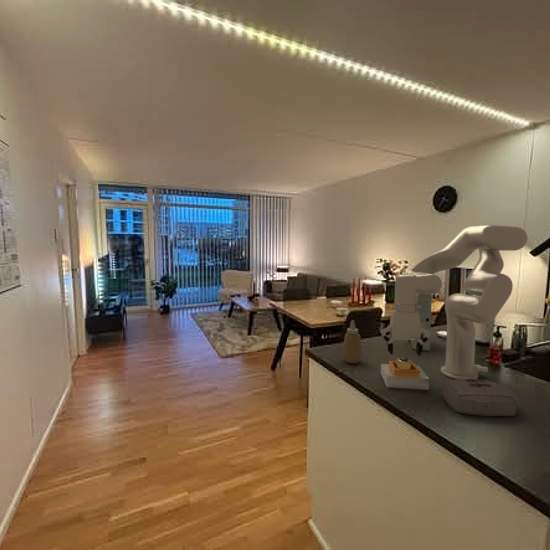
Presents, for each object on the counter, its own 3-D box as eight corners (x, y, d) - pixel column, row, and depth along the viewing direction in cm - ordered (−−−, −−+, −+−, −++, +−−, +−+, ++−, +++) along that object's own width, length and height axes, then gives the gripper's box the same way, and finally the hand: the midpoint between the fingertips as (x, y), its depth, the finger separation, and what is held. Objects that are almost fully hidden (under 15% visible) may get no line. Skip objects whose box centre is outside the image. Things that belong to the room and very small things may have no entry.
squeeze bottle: (362, 365, 130) (363, 323, 128) (342, 364, 132) (343, 322, 130) (361, 358, 138) (361, 319, 136) (342, 357, 140) (343, 318, 138)
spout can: (412, 384, 112) (413, 360, 111) (397, 383, 113) (398, 360, 112) (407, 377, 118) (408, 354, 117) (393, 376, 119) (394, 354, 118)
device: (407, 339, 166) (409, 284, 163) (423, 340, 164) (425, 284, 161) (412, 349, 150) (414, 288, 147) (429, 350, 148) (432, 288, 145)
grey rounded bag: (457, 418, 90) (532, 422, 87) (458, 391, 89) (534, 394, 87) (436, 394, 105) (500, 397, 102) (437, 370, 104) (501, 372, 102)
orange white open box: (418, 375, 119) (419, 360, 119) (428, 389, 107) (429, 373, 107) (380, 373, 121) (381, 358, 121) (386, 387, 110) (387, 370, 109)
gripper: (427, 306, 114) (426, 351, 116) (379, 305, 117) (378, 349, 119) (434, 310, 107) (433, 358, 108) (382, 309, 110) (381, 356, 111)
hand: (404, 353), depth 114 cm, fingers open, 9 cm apart
